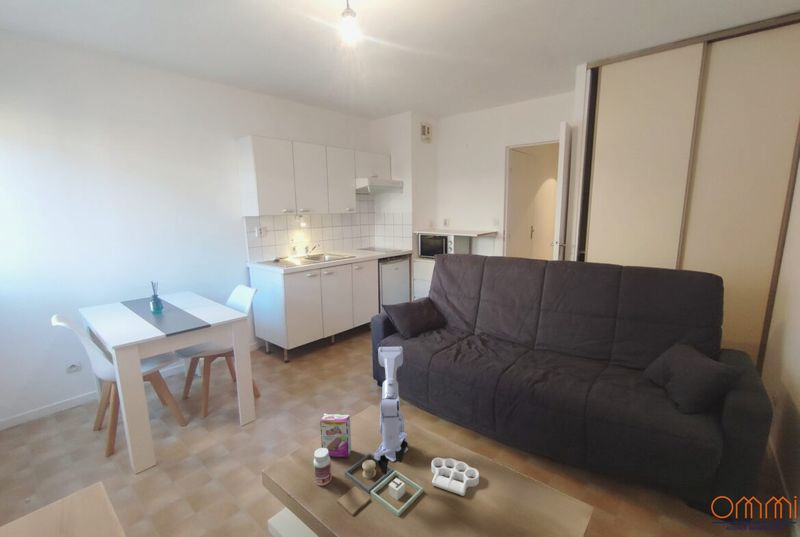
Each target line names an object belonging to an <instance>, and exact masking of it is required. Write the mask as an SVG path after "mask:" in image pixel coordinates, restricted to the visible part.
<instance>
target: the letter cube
mask: <svg viewBox="0 0 800 537" xmlns="http://www.w3.org/2000/svg"><path fill="white" fill-rule="evenodd" d="M405 494H406V482H404V481H403V480H401V479H400V478H398V477H395V479H393V480H391V482H390V483H389V484H388V495H389V496H391V497H392V498H393V499H395V500H396V501H398V500H400V499H401V498H402V497H403V496H404V495H405Z"/></svg>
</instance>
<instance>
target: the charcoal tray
mask: <svg viewBox="0 0 800 537" xmlns="http://www.w3.org/2000/svg"><path fill="white" fill-rule="evenodd" d="M366 460H373V461H374V462H375V463H377V464H378V462H377V460H376V459H375V458H374V454H372V453H370V452H369V453H368V454H366V455H365V456H364V457H363V458H361V459H359V460H358V461H357V462H355V463H354V464H353V465H352V466H350V467H349V468H348V469H346V470H345V471H344V476H345V477H346V478H348V480H350V481H351V482H352V483H353V484H355V485H357V486H358V487H359V488H361V489H362V490H363V491H365V493H367V494H368V495H369V494H371V493H370V491H372V490H373V489H374V488H375V487H376V486H378V485H379V484H380V483H381V482H382V481H383V480H385V479H386V478H387V477H388V476H389V475H390V474H392V473H393V472H394V471H395V470H394V468H393V467H391V466H390V465H388V466H387V474H386V475H384V474H383V475H382V476H381V477H380V478H379V479H378V480H376V482H374V483H373V484H372V485H370V486H369V487H368V486H367V485H365V484H364V483H363V482H361V481H360V480H359V479H357V478H356V477H355V476H354V475H352V474H351V473H352V472H353V471H354V470H356V469H357V468H359V467H360V466H362V464H363V462H364V461H366Z"/></svg>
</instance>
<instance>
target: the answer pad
mask: <svg viewBox="0 0 800 537" xmlns="http://www.w3.org/2000/svg"><path fill="white" fill-rule="evenodd" d="M370 501H371V497H369V496H368V495H366V494H365V492H363V491H362V490H360V489H359V488H358V487H357V486H353V487H352V488H351V489H349V490H348V491H347V492H346V493H345V494H343V495H342V496H341V497H340V498H338V499H337V500H336V504H337V503H338V505H340V506H341V508H343V509H344V510H345V511H346V512H348V513H349V514H350V515H351V516H354V515H355V514H357V513H358V512H359V511H360V510H362V509H363V508H364V507H365V506H366V505H367V504H368V503H369V502H370Z"/></svg>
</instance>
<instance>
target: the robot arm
mask: <svg viewBox="0 0 800 537" xmlns="http://www.w3.org/2000/svg"><path fill="white" fill-rule="evenodd" d="M377 351H378V354H377V357H378V363H379V365H380V367H383V368H384V371H385V373H384V374H385V380H384V381H382V388H381V389H382V391H381V392H382V393H381V394H382V395H381V400H380V405H379V406H380V411H379V412H380V414H379V434H380V435H382V442H381V443H380V445H379V446H378V447H377V448H378V449H377V450H376V451H375V452H373V456H374V458H375V459H376V460H377V462H378V463H377V462H376V463H377V464H378V466H379V469H380V473H382V474H383V476H384V475H386V474H387V472H388V470H387V466H389V462H392V463H393V462H395V461H397V462H398V463H402V461H403V458H404V455H405V453H407V452H408V451H409V448H408V447H409V446H408V445H409V442H408V441H407V439H408V434H407V433H406V430H405V416H404V415H405V414H404V413H403V411H402V410H401V401H400V395H399V383H398V381H397V370H398V368H399V367H401V366H402V365H403V363H404V362H403V361H404V347H403V346H401V345H400V346H379V347H378V350H377Z"/></svg>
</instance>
